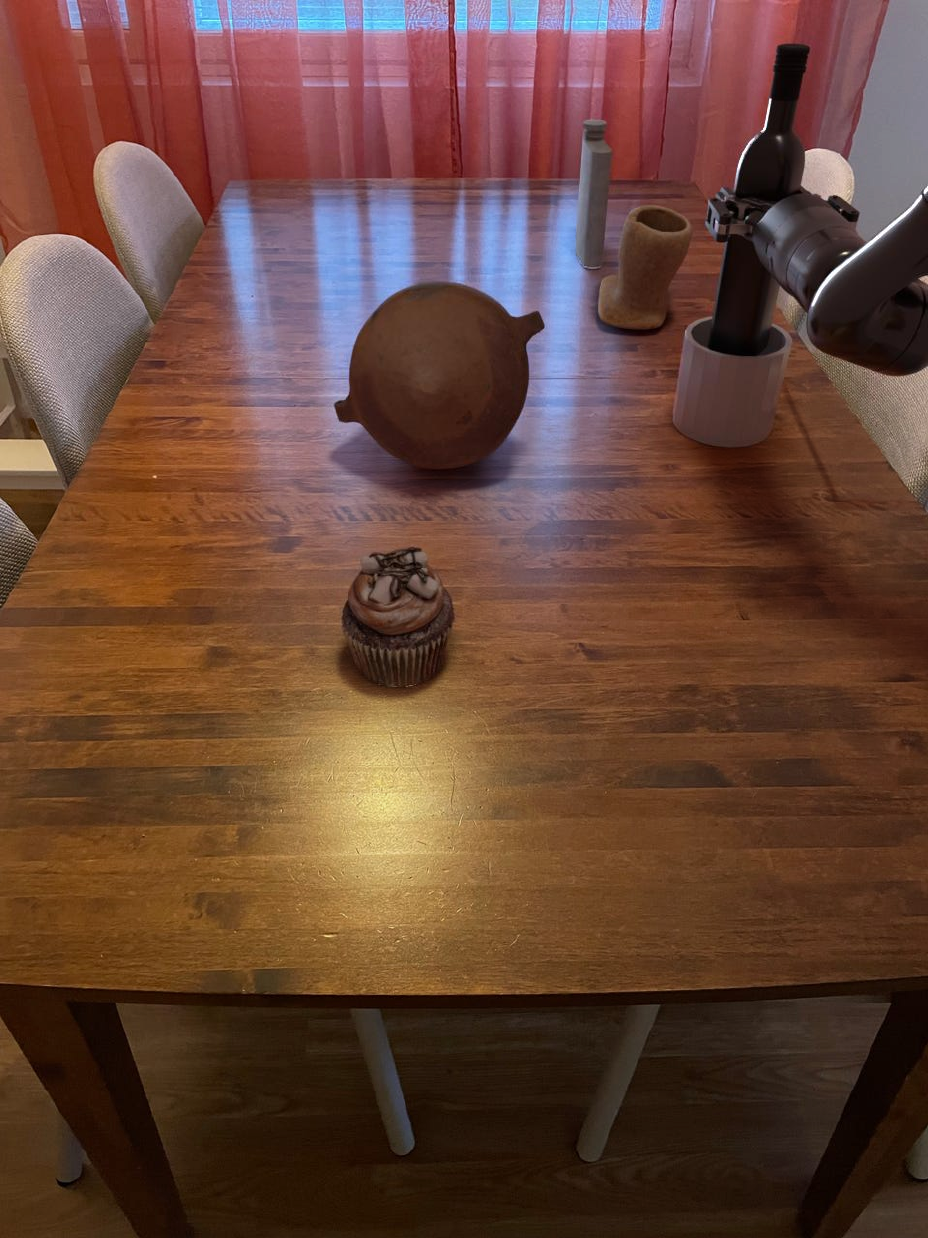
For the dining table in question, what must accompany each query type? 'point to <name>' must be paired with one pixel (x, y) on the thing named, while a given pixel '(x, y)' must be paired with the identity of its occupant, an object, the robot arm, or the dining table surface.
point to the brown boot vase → (644, 268)
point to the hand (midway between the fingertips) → (758, 196)
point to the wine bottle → (765, 175)
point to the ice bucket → (728, 389)
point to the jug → (439, 374)
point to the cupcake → (398, 618)
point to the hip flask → (593, 194)
